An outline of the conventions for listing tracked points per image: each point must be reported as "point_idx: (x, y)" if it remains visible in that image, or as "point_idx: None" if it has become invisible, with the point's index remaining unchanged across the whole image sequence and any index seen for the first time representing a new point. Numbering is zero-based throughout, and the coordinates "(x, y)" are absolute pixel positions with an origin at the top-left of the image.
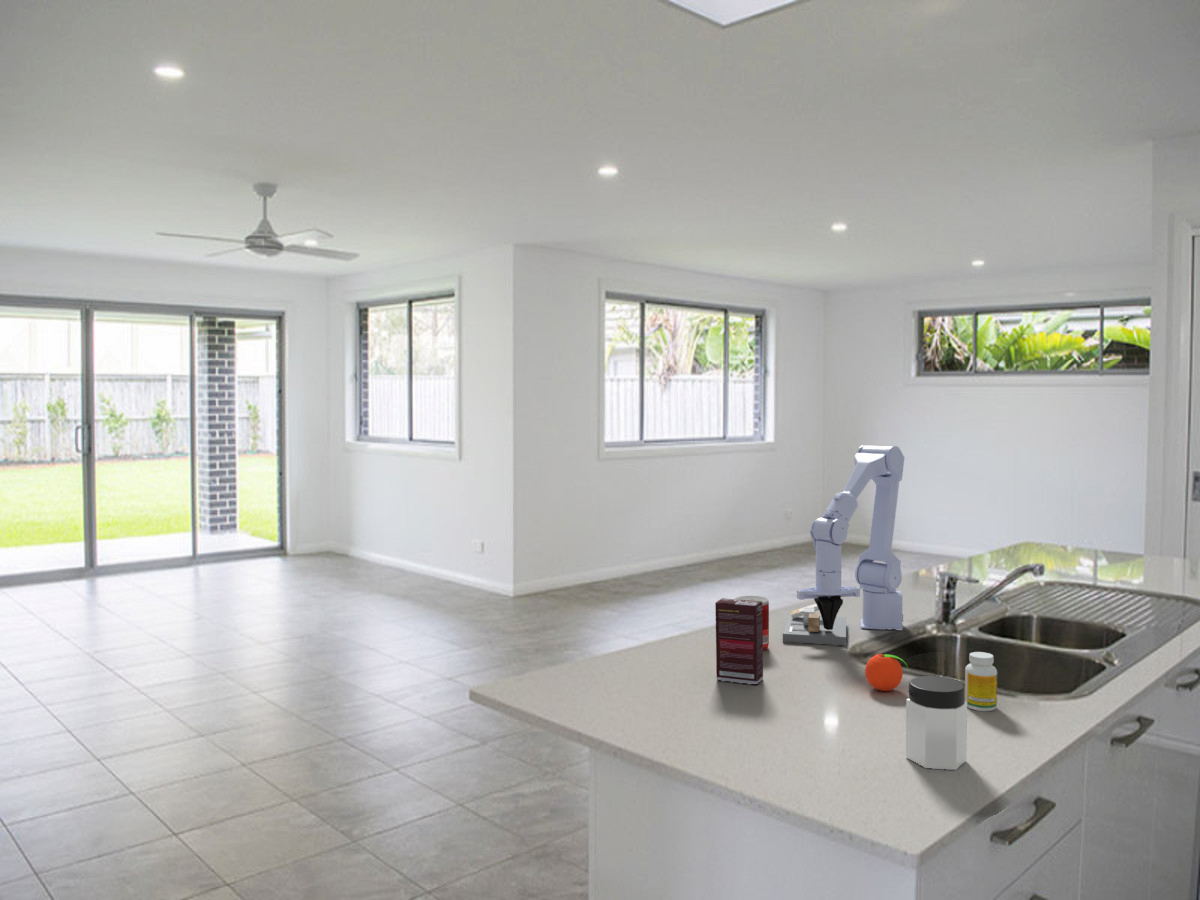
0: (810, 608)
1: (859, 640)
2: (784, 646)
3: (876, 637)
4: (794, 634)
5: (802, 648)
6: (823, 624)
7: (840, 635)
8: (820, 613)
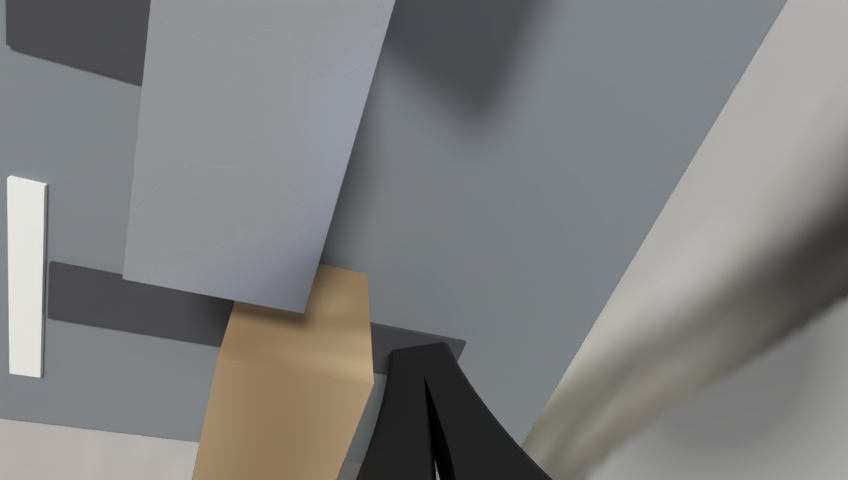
0: (297, 30)
1: (646, 308)
2: (23, 439)
3: (818, 238)
4: (76, 426)
5: (167, 472)
6: (388, 373)
7: None
8: (362, 465)
